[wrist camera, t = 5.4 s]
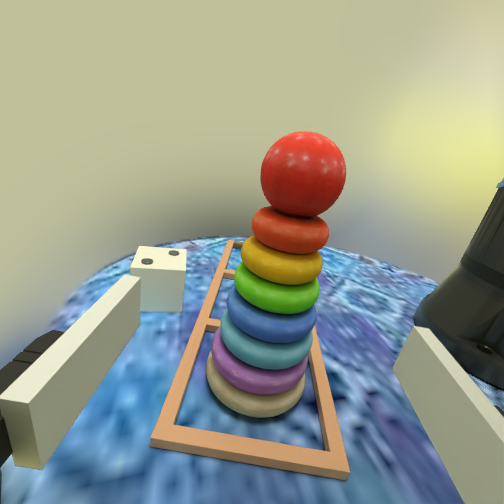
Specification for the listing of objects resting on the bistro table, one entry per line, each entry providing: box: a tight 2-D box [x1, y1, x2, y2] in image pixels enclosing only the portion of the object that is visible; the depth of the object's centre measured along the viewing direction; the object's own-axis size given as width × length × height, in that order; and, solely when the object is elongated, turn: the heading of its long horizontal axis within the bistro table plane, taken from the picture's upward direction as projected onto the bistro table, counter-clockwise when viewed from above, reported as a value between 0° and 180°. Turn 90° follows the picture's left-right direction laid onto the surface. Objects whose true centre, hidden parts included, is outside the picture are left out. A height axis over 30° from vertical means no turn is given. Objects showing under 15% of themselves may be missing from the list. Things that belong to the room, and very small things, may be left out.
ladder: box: [150, 240, 350, 480], centre depth 32 cm, size 12×34×1 cm, turn 176°
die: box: [130, 246, 186, 312], centre depth 29 cm, size 5×5×5 cm
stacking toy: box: [206, 132, 346, 417], centre depth 19 cm, size 8×8×19 cm
